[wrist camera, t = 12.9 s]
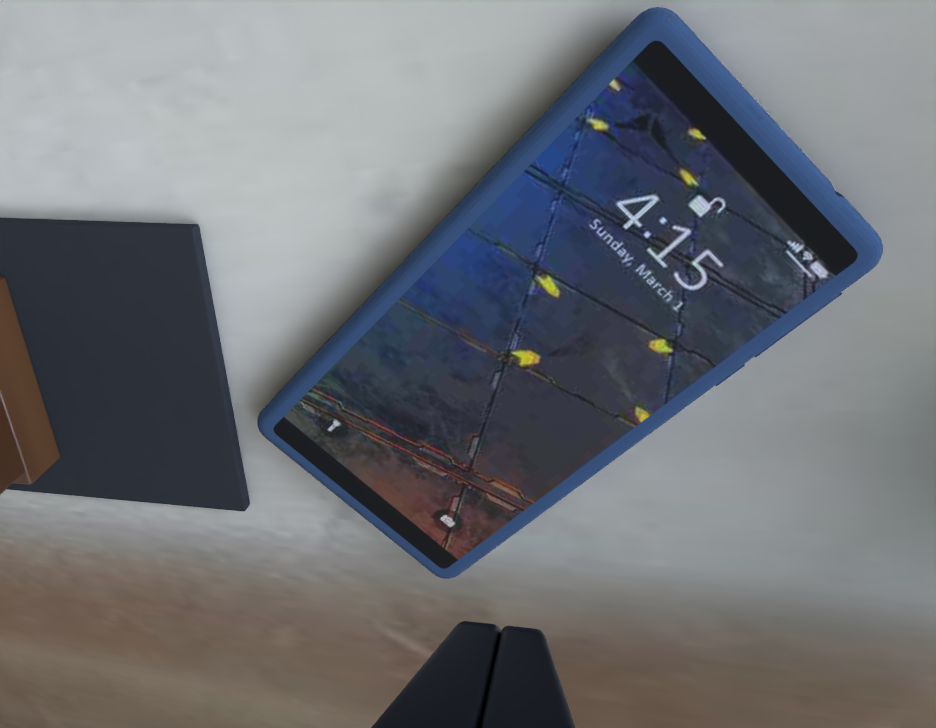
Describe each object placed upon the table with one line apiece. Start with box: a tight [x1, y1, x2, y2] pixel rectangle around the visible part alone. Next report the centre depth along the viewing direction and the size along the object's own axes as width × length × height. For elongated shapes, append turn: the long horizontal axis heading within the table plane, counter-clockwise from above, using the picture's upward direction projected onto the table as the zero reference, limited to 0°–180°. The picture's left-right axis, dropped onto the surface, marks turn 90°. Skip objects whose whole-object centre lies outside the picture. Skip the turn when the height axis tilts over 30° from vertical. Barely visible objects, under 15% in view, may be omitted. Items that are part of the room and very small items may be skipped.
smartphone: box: [258, 7, 883, 579], centre depth 20 cm, size 8×1×15 cm
